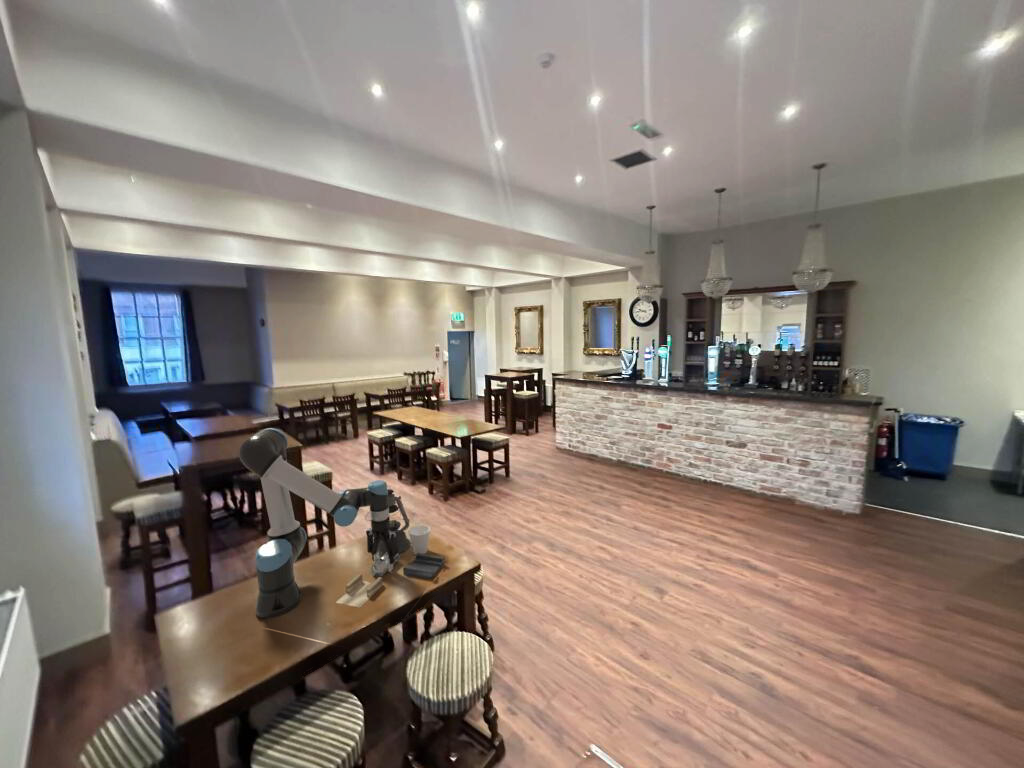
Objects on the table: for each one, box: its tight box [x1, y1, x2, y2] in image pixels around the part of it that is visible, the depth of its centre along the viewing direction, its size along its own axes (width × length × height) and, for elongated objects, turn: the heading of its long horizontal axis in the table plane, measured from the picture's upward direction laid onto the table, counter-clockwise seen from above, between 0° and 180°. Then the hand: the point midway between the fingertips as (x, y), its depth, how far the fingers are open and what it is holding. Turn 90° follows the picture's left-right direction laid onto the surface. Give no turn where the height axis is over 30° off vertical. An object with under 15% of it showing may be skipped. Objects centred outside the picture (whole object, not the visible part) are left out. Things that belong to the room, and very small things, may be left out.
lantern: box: [364, 485, 412, 557], centre depth 191 cm, size 18×20×30 cm
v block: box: [402, 553, 445, 580], centre depth 172 cm, size 13×12×4 cm
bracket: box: [335, 573, 383, 609], centre depth 157 cm, size 11×14×4 cm
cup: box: [407, 524, 431, 556], centre depth 186 cm, size 10×10×11 cm
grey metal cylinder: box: [370, 552, 400, 578], centre depth 173 cm, size 6×12×6 cm, turn 163°
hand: (383, 568), depth 172 cm, fingers closed on grey metal cylinder, 6 cm apart
